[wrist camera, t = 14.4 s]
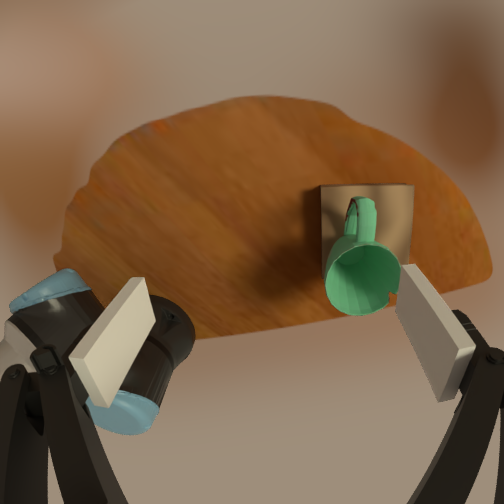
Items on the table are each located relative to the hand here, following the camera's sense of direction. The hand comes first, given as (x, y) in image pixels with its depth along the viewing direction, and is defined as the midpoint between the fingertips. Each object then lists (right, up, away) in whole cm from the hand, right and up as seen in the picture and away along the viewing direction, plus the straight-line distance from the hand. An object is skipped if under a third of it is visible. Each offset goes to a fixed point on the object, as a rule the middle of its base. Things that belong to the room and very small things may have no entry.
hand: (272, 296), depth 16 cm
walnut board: (+16, +6, +32) cm, 36 cm away
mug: (+13, +5, +29) cm, 33 cm away
